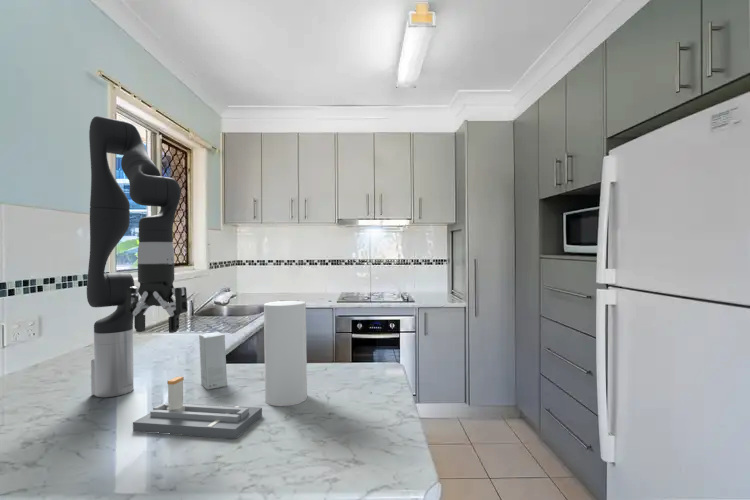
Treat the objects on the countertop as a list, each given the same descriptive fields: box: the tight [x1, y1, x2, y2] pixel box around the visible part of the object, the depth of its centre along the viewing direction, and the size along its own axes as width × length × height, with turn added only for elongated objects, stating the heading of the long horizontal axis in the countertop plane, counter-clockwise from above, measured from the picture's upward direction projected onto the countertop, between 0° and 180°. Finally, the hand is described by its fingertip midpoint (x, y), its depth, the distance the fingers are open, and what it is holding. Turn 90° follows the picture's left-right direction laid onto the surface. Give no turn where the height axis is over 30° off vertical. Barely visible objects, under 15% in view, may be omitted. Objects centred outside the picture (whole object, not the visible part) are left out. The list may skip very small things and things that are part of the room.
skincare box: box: [198, 331, 228, 390], centre depth 121 cm, size 8×6×15 cm
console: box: [132, 402, 263, 440], centre depth 93 cm, size 24×12×3 cm, turn 79°
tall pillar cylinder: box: [263, 300, 308, 407], centre depth 108 cm, size 11×11×25 cm
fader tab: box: [167, 376, 185, 411], centre depth 94 cm, size 3×3×8 cm
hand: (156, 331), depth 96 cm, fingers open, 8 cm apart
